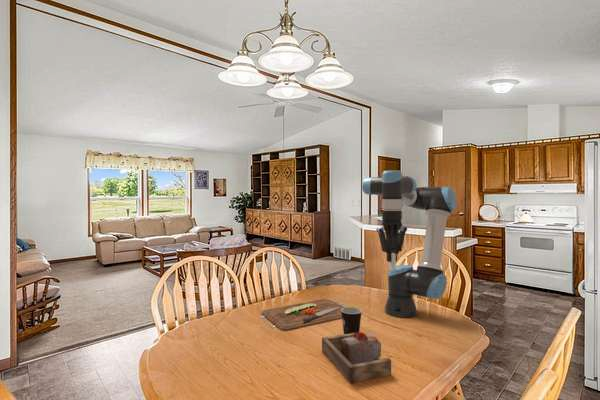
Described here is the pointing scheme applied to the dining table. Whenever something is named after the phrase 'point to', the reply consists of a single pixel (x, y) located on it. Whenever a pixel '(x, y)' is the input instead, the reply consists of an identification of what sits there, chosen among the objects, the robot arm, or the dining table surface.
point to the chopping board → (303, 314)
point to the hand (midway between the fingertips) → (391, 269)
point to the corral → (357, 370)
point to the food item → (361, 348)
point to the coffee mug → (351, 319)
